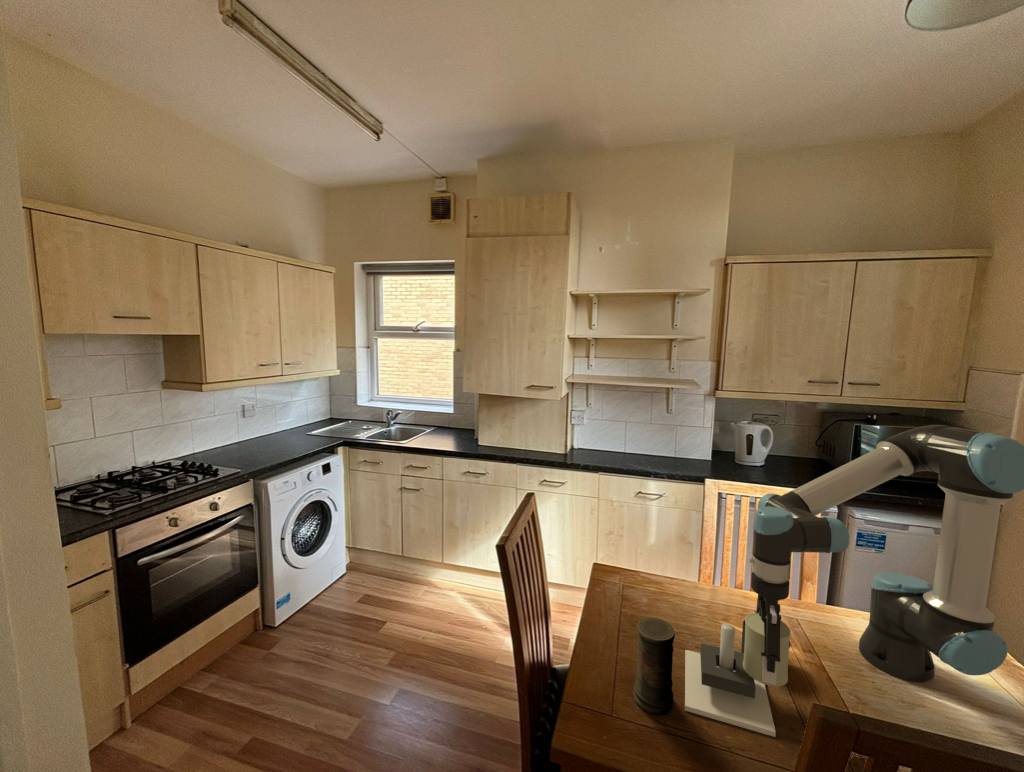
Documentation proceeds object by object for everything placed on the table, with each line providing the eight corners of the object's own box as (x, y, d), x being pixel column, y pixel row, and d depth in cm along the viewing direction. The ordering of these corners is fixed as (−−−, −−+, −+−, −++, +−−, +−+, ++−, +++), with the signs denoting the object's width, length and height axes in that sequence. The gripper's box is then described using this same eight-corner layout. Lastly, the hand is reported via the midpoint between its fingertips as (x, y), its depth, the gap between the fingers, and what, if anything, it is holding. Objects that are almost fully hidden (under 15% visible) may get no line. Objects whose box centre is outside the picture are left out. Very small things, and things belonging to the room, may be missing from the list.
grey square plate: (748, 665, 108) (749, 654, 108) (754, 698, 98) (755, 686, 98) (700, 653, 112) (700, 642, 112) (701, 684, 102) (702, 672, 102)
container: (629, 684, 107) (631, 615, 106) (666, 685, 107) (668, 616, 105) (639, 715, 98) (641, 640, 97) (679, 716, 98) (682, 641, 96)
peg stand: (760, 672, 111) (764, 612, 110) (775, 737, 93) (779, 666, 91) (685, 653, 118) (687, 597, 116) (684, 710, 99) (687, 644, 98)
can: (788, 667, 103) (790, 619, 102) (788, 693, 95) (791, 641, 94) (744, 652, 108) (746, 606, 107) (740, 676, 100) (743, 627, 99)
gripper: (745, 552, 111) (741, 635, 113) (758, 597, 91) (753, 697, 93) (779, 557, 108) (775, 642, 110) (800, 605, 88) (794, 707, 90)
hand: (765, 667), depth 102 cm, fingers closed on can, 9 cm apart
